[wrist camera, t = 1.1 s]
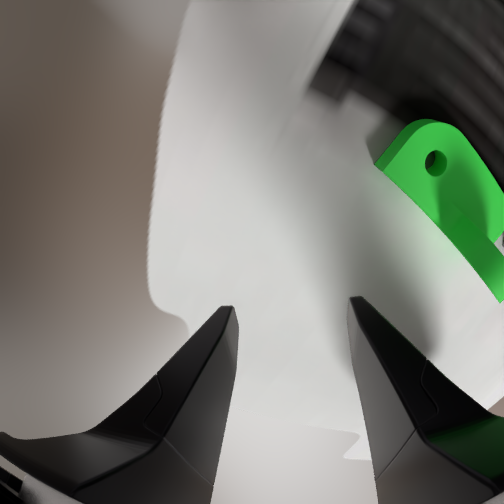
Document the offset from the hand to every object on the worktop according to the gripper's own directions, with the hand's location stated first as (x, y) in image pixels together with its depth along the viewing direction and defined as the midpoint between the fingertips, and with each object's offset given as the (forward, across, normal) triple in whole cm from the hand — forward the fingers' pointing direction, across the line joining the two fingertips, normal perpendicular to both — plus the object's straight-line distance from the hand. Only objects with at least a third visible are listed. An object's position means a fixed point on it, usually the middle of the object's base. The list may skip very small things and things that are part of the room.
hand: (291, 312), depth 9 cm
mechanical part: (+12, -12, 0) cm, 18 cm away
